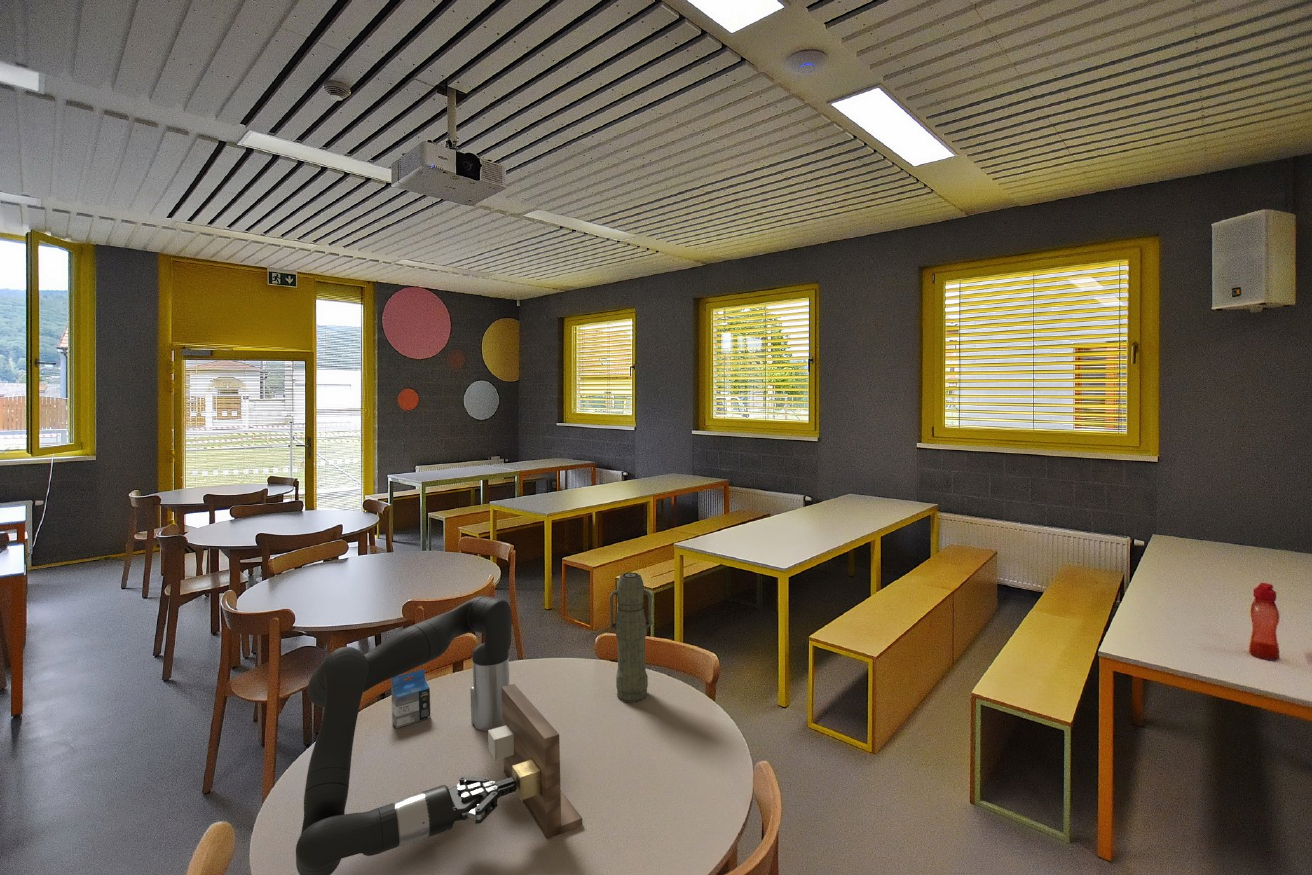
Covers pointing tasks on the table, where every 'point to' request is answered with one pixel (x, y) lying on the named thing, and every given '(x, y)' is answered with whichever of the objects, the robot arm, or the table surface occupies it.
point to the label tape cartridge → (410, 699)
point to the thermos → (631, 636)
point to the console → (538, 762)
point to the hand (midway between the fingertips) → (515, 783)
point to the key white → (501, 742)
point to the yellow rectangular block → (527, 779)
